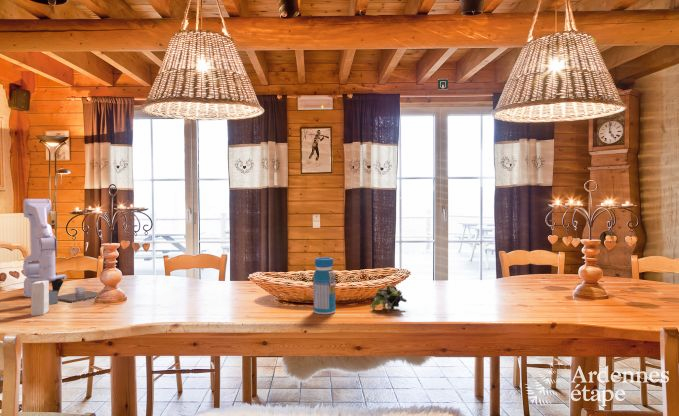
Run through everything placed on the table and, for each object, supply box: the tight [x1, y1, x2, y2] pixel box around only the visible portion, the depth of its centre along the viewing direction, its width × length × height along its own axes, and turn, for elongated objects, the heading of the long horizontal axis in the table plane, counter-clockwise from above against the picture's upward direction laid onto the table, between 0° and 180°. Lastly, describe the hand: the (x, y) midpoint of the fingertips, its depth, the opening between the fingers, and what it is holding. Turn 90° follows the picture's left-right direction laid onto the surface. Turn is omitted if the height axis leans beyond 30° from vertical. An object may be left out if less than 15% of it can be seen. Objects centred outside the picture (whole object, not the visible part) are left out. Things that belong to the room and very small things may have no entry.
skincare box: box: [30, 280, 50, 317], centre depth 170 cm, size 6×4×12 cm
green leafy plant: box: [370, 284, 407, 314], centre depth 170 cm, size 11×11×12 cm
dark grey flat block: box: [58, 286, 100, 303], centre depth 201 cm, size 16×16×4 cm
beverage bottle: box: [312, 256, 337, 315], centre depth 168 cm, size 8×8×20 cm
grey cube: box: [49, 289, 59, 305], centre depth 188 cm, size 5×5×5 cm
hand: (47, 299), depth 188 cm, fingers closed on grey cube, 5 cm apart
